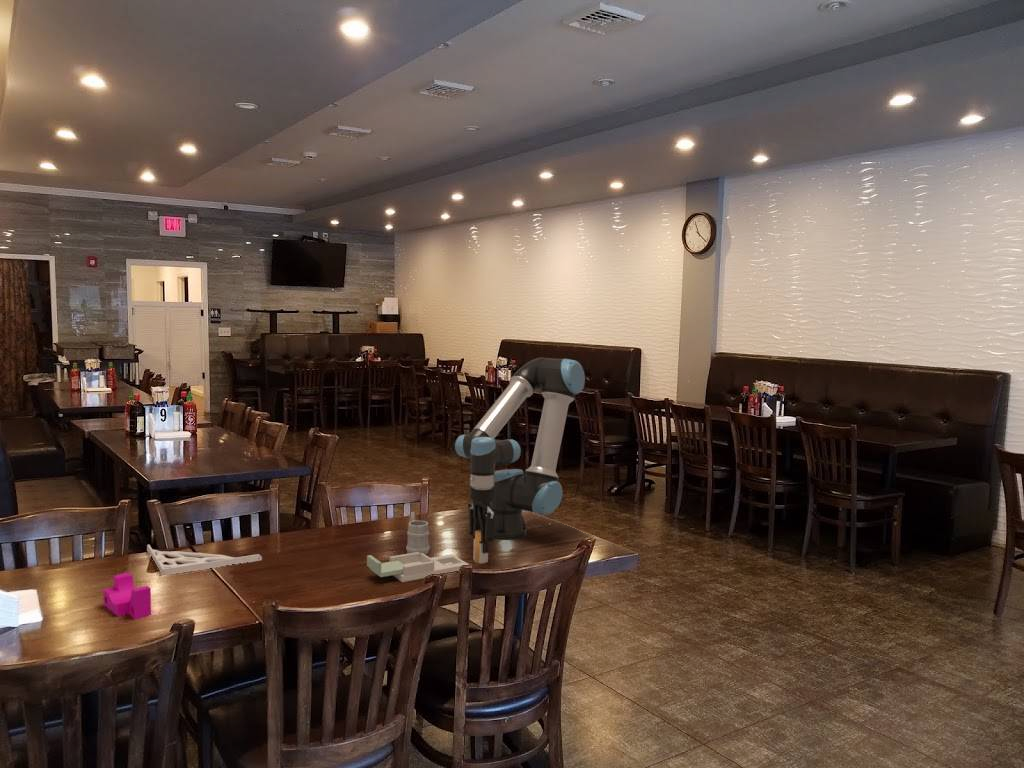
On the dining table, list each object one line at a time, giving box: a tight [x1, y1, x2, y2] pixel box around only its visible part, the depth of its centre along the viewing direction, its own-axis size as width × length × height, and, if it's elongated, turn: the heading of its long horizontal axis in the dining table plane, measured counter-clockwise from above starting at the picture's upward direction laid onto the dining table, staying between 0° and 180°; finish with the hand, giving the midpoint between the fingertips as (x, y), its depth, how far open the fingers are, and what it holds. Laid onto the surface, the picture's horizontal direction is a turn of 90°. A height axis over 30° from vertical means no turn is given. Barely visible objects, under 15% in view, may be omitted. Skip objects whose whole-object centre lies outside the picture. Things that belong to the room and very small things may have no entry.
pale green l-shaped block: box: [366, 554, 405, 578], centre depth 219 cm, size 10×8×4 cm
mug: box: [405, 511, 431, 556], centre depth 245 cm, size 8×12×12 cm, turn 27°
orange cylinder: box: [473, 530, 484, 564], centre depth 235 cm, size 4×4×10 cm
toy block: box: [102, 572, 152, 620], centre depth 191 cm, size 15×6×8 cm, turn 46°
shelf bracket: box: [146, 544, 263, 576], centre depth 237 cm, size 28×28×3 cm
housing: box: [388, 552, 470, 583], centre depth 226 cm, size 22×11×4 cm, turn 123°
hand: (480, 560), depth 235 cm, fingers closed on orange cylinder, 3 cm apart
